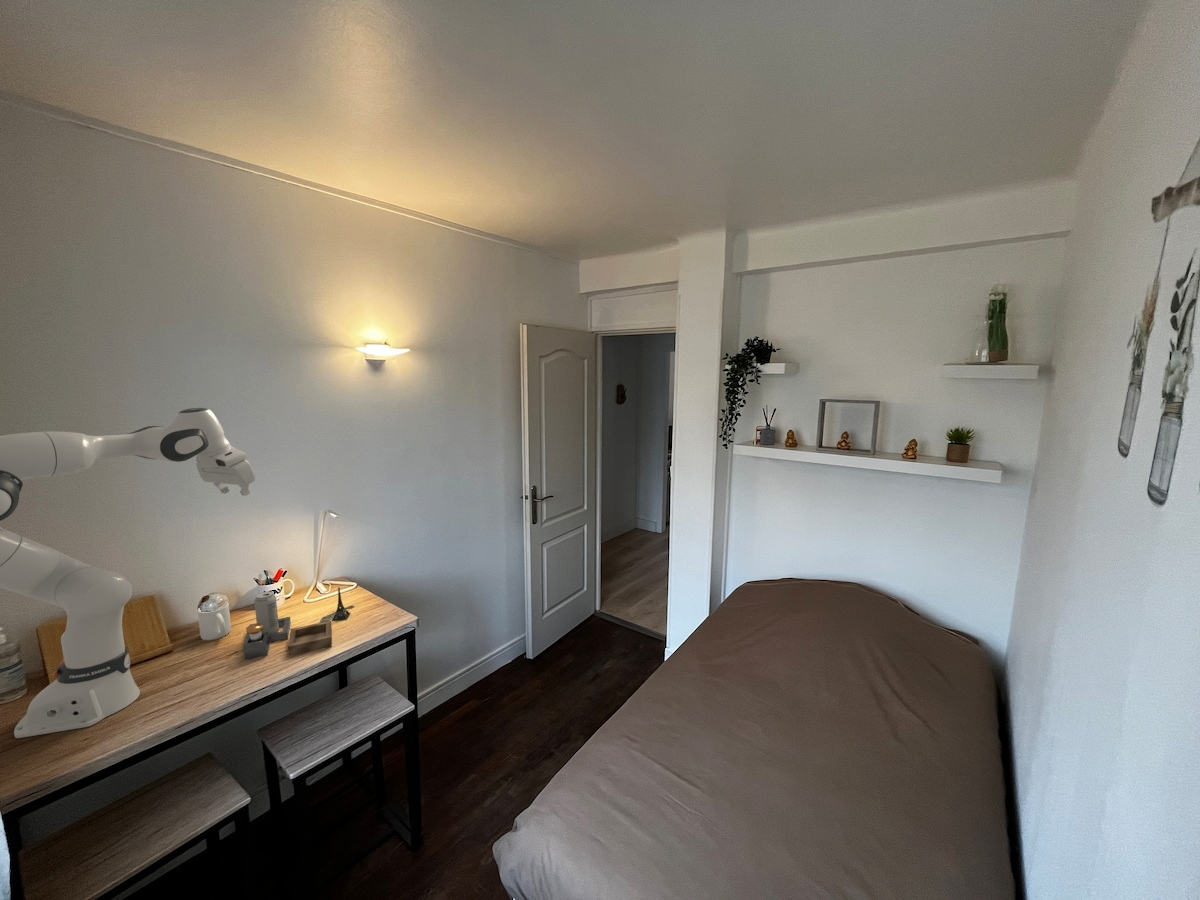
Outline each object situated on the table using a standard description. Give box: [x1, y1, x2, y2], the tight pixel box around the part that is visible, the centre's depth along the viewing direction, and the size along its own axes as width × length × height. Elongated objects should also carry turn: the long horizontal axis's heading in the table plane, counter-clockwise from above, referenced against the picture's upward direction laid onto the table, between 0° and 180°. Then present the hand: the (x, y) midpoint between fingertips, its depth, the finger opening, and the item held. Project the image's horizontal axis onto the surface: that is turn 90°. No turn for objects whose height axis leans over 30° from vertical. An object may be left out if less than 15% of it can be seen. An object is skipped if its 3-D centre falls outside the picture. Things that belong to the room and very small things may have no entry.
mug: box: [197, 600, 232, 641], centre depth 161 cm, size 12×8×10 cm
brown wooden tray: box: [287, 620, 333, 658], centre depth 159 cm, size 12×12×4 cm
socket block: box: [242, 616, 292, 661], centre depth 159 cm, size 12×20×5 cm, turn 29°
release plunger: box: [245, 622, 263, 643], centre depth 152 cm, size 4×4×6 cm
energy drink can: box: [254, 590, 280, 634], centre depth 162 cm, size 6×6×15 cm
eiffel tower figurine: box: [319, 587, 355, 623], centre depth 176 cm, size 15×10×13 cm
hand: (235, 493), depth 155 cm, fingers open, 8 cm apart
